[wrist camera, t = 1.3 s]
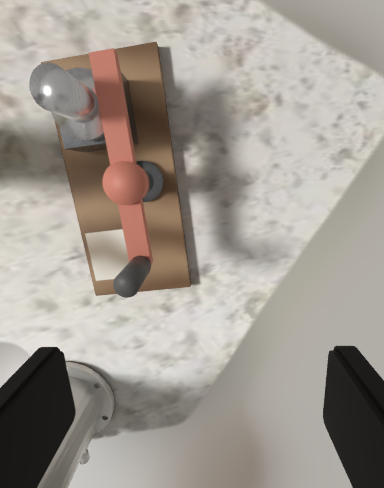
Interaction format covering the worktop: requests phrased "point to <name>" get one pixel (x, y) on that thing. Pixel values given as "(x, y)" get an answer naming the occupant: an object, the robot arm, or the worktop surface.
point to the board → (149, 149)
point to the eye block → (100, 143)
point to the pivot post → (152, 180)
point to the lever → (122, 171)
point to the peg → (68, 99)
